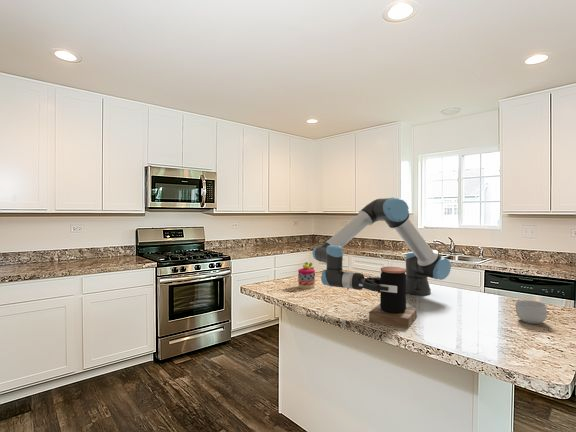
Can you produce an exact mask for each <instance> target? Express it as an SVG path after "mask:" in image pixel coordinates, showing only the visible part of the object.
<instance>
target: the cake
mask: <svg viewBox="0 0 576 432" xmlns="http://www.w3.org/2000/svg"><path fill="white" fill-rule="evenodd" d="M297 271H298V274H297V275H298V277H297V281H298V288H299V289H302V290H313V289H315V287H316V286H315V285H316V284H315V283H316V270H315V267H314V266H313V263H312V262H307V261H306V262H304V264H303V265H302V268H299V269H298V270H297Z"/></svg>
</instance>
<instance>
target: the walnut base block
mask: <svg viewBox="0 0 576 432" xmlns="http://www.w3.org/2000/svg"><path fill="white" fill-rule="evenodd" d="M417 312H418V309H417V308H415V307H407V306H406V310H405V312H404V313H399V314H393V313H387V312H384V311H383V310H382V309H381V307H380V303H379V304H378V305H376V307H374V308H372V309H371V310H370V311H369V312H368V321H369V323H376V324H380V325H387V326H392V327H395V328H396V327H397V328H403V329H409V328H410V327H411V325H413V323H414V322H415V320H417V317H418V315H417V314H418V313H417Z"/></svg>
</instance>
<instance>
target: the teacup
mask: <svg viewBox="0 0 576 432" xmlns="http://www.w3.org/2000/svg"><path fill="white" fill-rule="evenodd" d="M547 307H548V305H547V304H546V303H545V302H543V301H537V300H528V299H523V300H516V301H515V310H516V311H515V313H516V316H517V317H518V319H520V320H521V322H524V323H527V324H532V325H533V324H534V325H539V324H542V323H543V322H545V321H546V320H547V317H548V316H547V313H548V312H547V311H548V310H547Z"/></svg>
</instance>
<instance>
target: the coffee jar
mask: <svg viewBox="0 0 576 432" xmlns="http://www.w3.org/2000/svg"><path fill="white" fill-rule="evenodd" d="M380 271H381V272H380V286H381V284H383V285H392V286H397V293H392V292H385V291H381V290H380V293H379V294H380V299H379V301H380V303H379V304H380V307H381V309H382V310H383V311H384V312H387V313H393V314H399V313H404V312H405V310H406V307H407V293H406V267H405V268H404V267H401V266H400V267H399V266H383V267H380Z"/></svg>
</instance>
